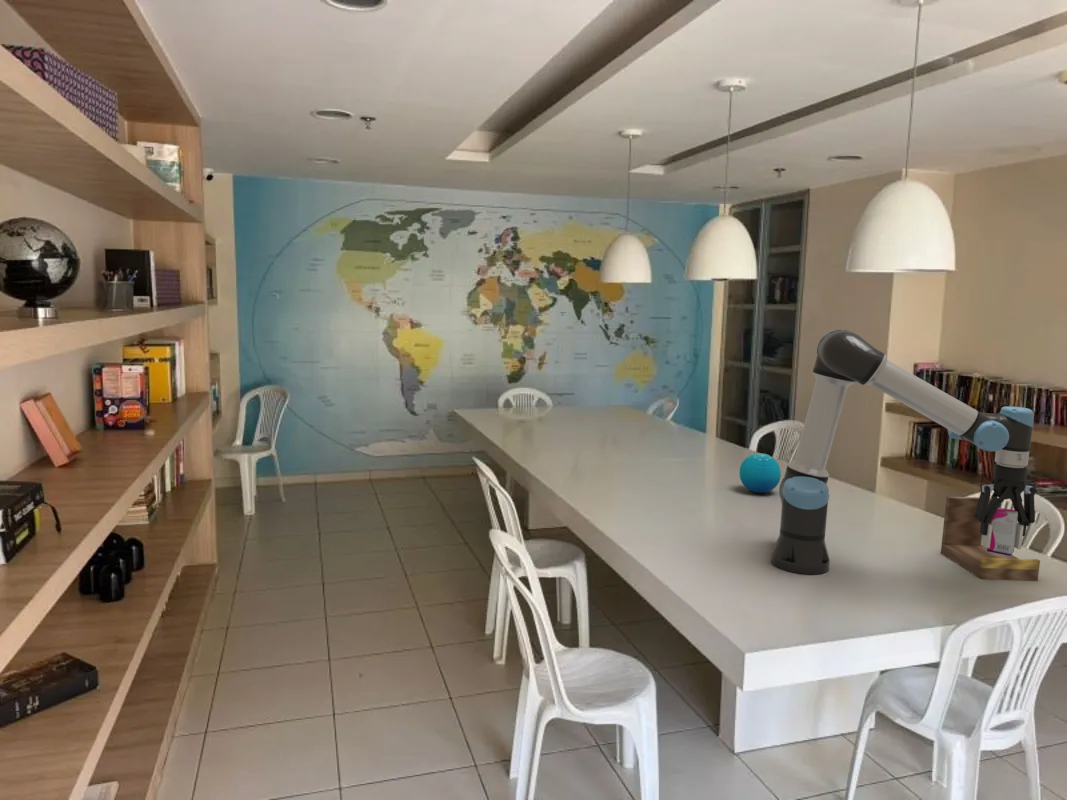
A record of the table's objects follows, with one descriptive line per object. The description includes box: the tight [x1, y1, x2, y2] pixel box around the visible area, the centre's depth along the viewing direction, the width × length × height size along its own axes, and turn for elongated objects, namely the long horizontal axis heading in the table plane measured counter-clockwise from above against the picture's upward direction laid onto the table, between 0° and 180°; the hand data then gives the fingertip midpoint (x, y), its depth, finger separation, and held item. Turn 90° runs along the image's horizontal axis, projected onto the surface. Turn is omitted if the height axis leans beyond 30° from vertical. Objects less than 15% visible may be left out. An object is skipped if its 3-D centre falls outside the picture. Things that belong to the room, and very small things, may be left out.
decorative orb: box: [739, 452, 782, 494], centre depth 279 cm, size 15×15×15 cm
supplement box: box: [987, 507, 1018, 556], centre depth 201 cm, size 6×6×12 cm
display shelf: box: [940, 496, 1041, 581], centre depth 206 cm, size 15×20×17 cm
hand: (1000, 546), depth 202 cm, fingers closed on supplement box, 8 cm apart
